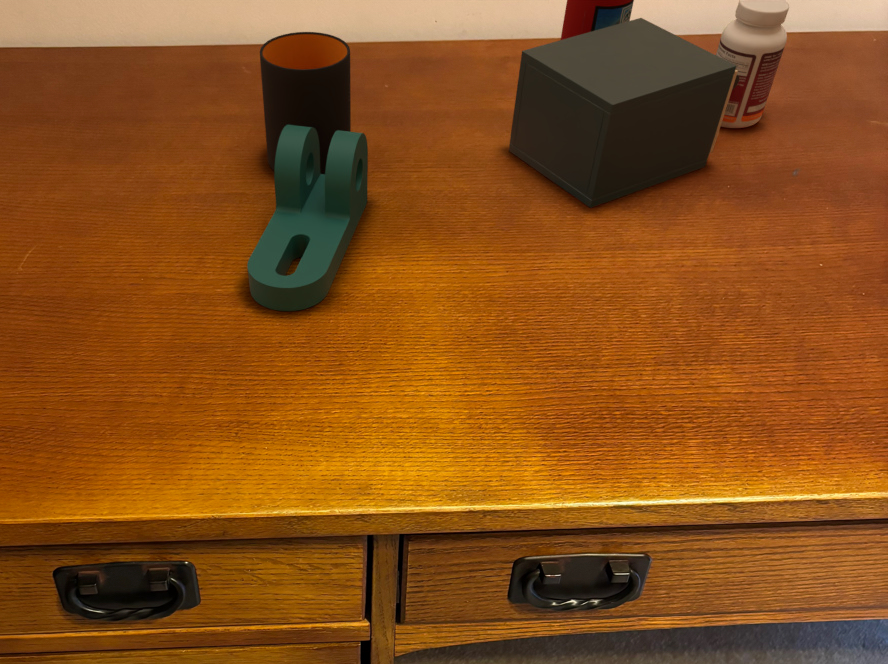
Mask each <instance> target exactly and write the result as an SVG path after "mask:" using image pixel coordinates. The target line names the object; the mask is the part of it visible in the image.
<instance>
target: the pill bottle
mask: <svg viewBox="0 0 888 664" xmlns="http://www.w3.org/2000/svg"><path fill="white" fill-rule="evenodd" d="M789 10H790V3H789V2H788V1H787V0H738V4H737V7H736V10H735V19H733V20H732V21H730V22H728V23H727V24H726V26H725V27H724V28H723V30H722V32H721V36H720V39H719V42H718V46H717V49H716V52H715V55H716V56H718V57H720V58H722V59H724V60H726V61H728V62H730V63H732V64H734V65H736V66H737V67H736V70H738V72H737V75H738V76H739V82H738V84H737V86H736V87H735V88H734V89H733V90H732V92H731V95H730V98H729V101H728V104H727V107H726V111H725V114H724V117H723V120H722V123H721V127H722V128H727V129H741V128H748V127H751V126H754V125H755V124H757V123H758V122H759V121H760V120H761V118H762V116H763V114H764V111H765V108H766V104H767V102H768V98H769V95H770V92H771V90H772V87H773V83H774V80H775V77H776V74H777V72H778V68H779V65H780V63H781V59H782V56H783V53H784V50H785V47H786V44H787V40H788V34H787V31H786V28H784V26H783V24H784V23H785V21H786V18H787V16H788V12H789ZM721 127H720V128H721Z"/></svg>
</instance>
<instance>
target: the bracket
mask: <svg viewBox="0 0 888 664" xmlns="http://www.w3.org/2000/svg"><path fill="white" fill-rule="evenodd" d="M368 167H369V149H368V138H367V135H366V134H365V133H364V132H356V131H351V132H349V131H340V130H337V131H336V132H335V133H334V135H333V137H332V140H331V143H330V147H329V151H328V156H327V162H326V171H325V174H320V147H319V138H318V134H317V131H316V129H315V128H313V127H304V126H295V125H286V126H285V127H284V128H283V130H282V132H281V135H280V138H279V141H278V145H277V151H276V158H275V170H273V172H274V173H273V179H274V193H275V195H274V197H275V210H274V212H273V214H272V216H271V218H270V220H269V222H268V224H267V226H266V227H265V229H264V231H263V232H262V235H261V236H260V238H259V240H258V242H257V244H256V245H255V247H254V249H253V251H252V253H251V254H250V256H249V258H248V260H247V265H246V266H247V276H248V284H249V292H250V295H251V298H252V299H253V300H254V301H255V302H256V303H257V304H259V305H260V306H262V307H264V308H267V309H270V310H274V311H279V312H295V311H302V310H303V311H304V310H306V309H309V308H312V307H314V306H316V305H318V304H319V303H321V302H322V301H323V300H324V299H325V298H326V297H327V296H328V294H329V291H330V289H331V288H332V284H333V282H334V281H335V278H336V276H337V273H338V271H339V269H340V266H341V264H342V261H343V260H344V257H345V254H346V253H347V250H348V248H349V246H350V243H351V241H352V239H353V237H354V234H355V232H356V229H357V227H358V225H359V223H360V220H361V218H362V215H363V213H364V211H365V209H366V206H367V204H368V186H369V185H368V183H369V181H368V179H369V178H368V176H369V175H368V174H369V172H368V171H369V168H368ZM298 258H299V259H300V261H299V262H298V264H297V266H296V268H295V271H294V272H293V273H291V274H287V273H288V271H289V270H290V267H291V265H292V263H293V261H294V260H296V259H298Z"/></svg>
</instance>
